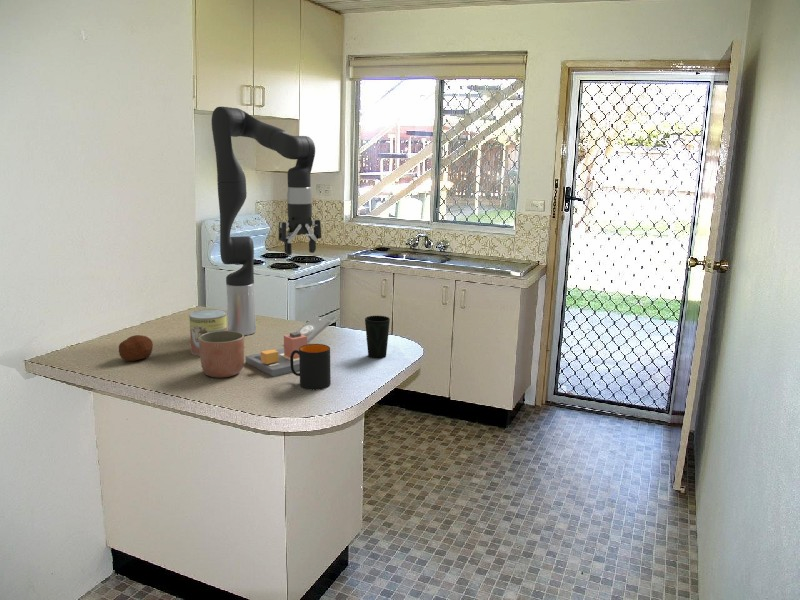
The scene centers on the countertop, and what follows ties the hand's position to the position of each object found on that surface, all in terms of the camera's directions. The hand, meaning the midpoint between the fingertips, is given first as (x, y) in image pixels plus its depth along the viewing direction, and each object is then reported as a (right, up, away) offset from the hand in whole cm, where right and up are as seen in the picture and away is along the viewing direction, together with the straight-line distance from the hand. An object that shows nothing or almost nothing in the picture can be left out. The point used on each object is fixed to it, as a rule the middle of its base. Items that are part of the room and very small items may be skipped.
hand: (300, 253), depth 212 cm
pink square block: (0, -31, -11) cm, 33 cm away
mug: (+7, -38, -28) cm, 48 cm away
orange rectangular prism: (-6, -32, -18) cm, 38 cm away
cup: (+24, -32, -3) cm, 40 cm away
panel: (-3, -34, -12) cm, 36 cm away
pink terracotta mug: (-19, -36, -21) cm, 46 cm away
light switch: (+1, -29, +9) cm, 30 cm away
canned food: (-29, -31, 0) cm, 42 cm away
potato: (-48, -33, -10) cm, 59 cm away
